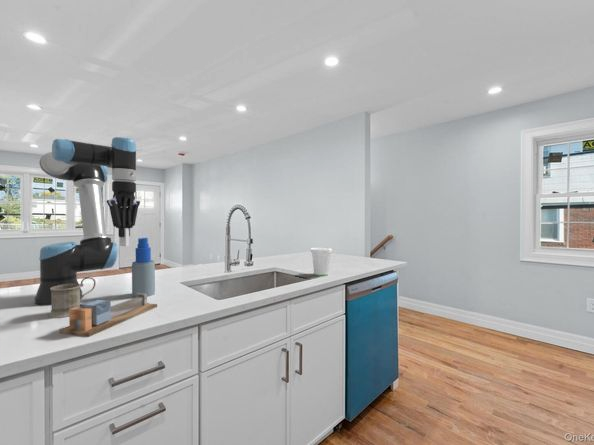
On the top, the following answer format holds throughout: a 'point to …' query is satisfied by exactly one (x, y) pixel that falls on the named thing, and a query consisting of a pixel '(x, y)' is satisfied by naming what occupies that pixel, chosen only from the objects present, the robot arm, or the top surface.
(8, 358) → the top surface
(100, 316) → the slider
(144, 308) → the rail board
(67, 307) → the mug
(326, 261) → the cup
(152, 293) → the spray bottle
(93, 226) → the robot arm
